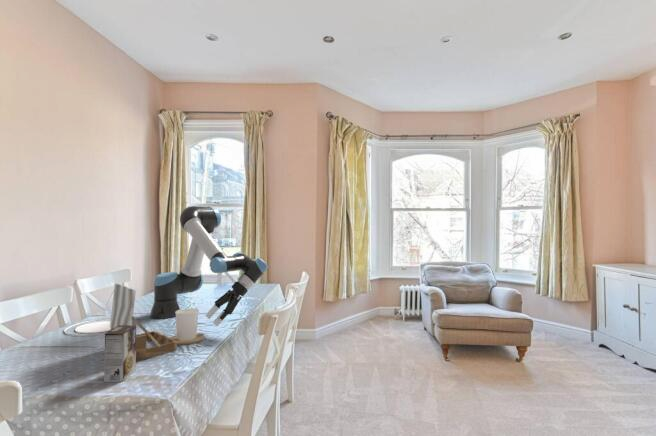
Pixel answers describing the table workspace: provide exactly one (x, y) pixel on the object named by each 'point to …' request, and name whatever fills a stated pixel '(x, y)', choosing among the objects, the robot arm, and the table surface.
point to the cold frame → (124, 316)
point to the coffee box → (120, 353)
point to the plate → (92, 327)
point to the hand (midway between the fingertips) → (210, 320)
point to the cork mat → (187, 342)
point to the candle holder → (186, 324)
